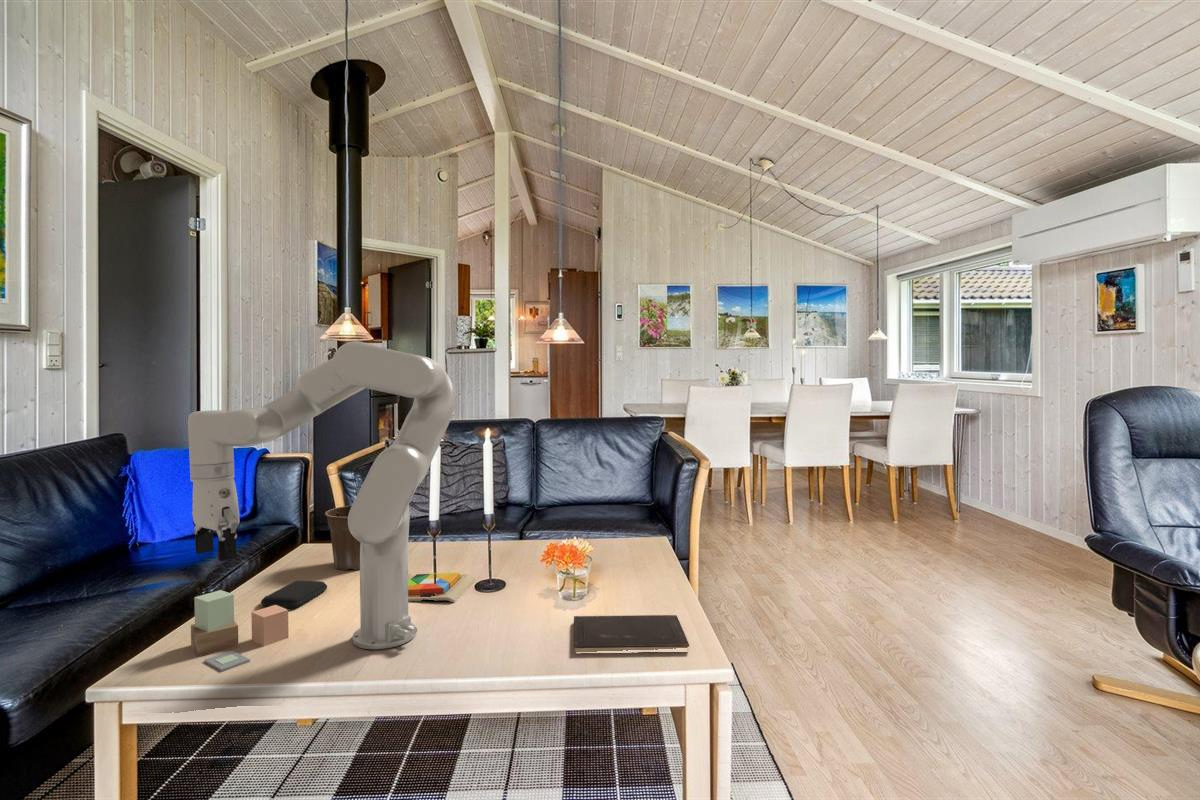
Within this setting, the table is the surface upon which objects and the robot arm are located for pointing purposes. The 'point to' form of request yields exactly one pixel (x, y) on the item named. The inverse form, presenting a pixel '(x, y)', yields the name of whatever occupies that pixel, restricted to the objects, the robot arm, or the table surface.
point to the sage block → (214, 610)
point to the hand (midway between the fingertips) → (215, 555)
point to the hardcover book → (628, 633)
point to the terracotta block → (269, 625)
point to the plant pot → (343, 539)
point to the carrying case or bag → (294, 594)
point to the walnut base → (214, 639)
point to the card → (227, 660)
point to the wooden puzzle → (438, 586)
